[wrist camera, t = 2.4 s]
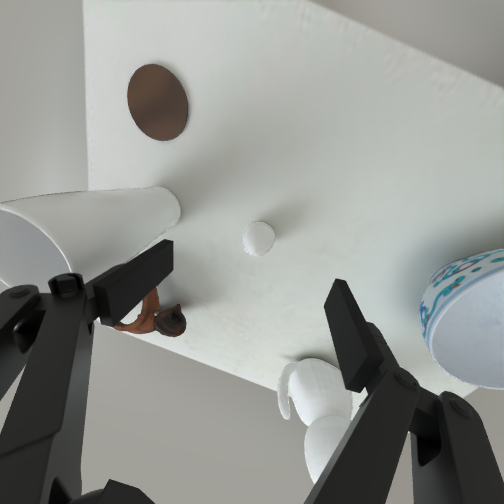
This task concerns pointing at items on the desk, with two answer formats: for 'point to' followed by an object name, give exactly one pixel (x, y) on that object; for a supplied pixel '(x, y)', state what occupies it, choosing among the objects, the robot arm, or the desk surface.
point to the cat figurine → (317, 408)
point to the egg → (258, 238)
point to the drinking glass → (80, 232)
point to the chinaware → (467, 319)
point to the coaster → (157, 102)
